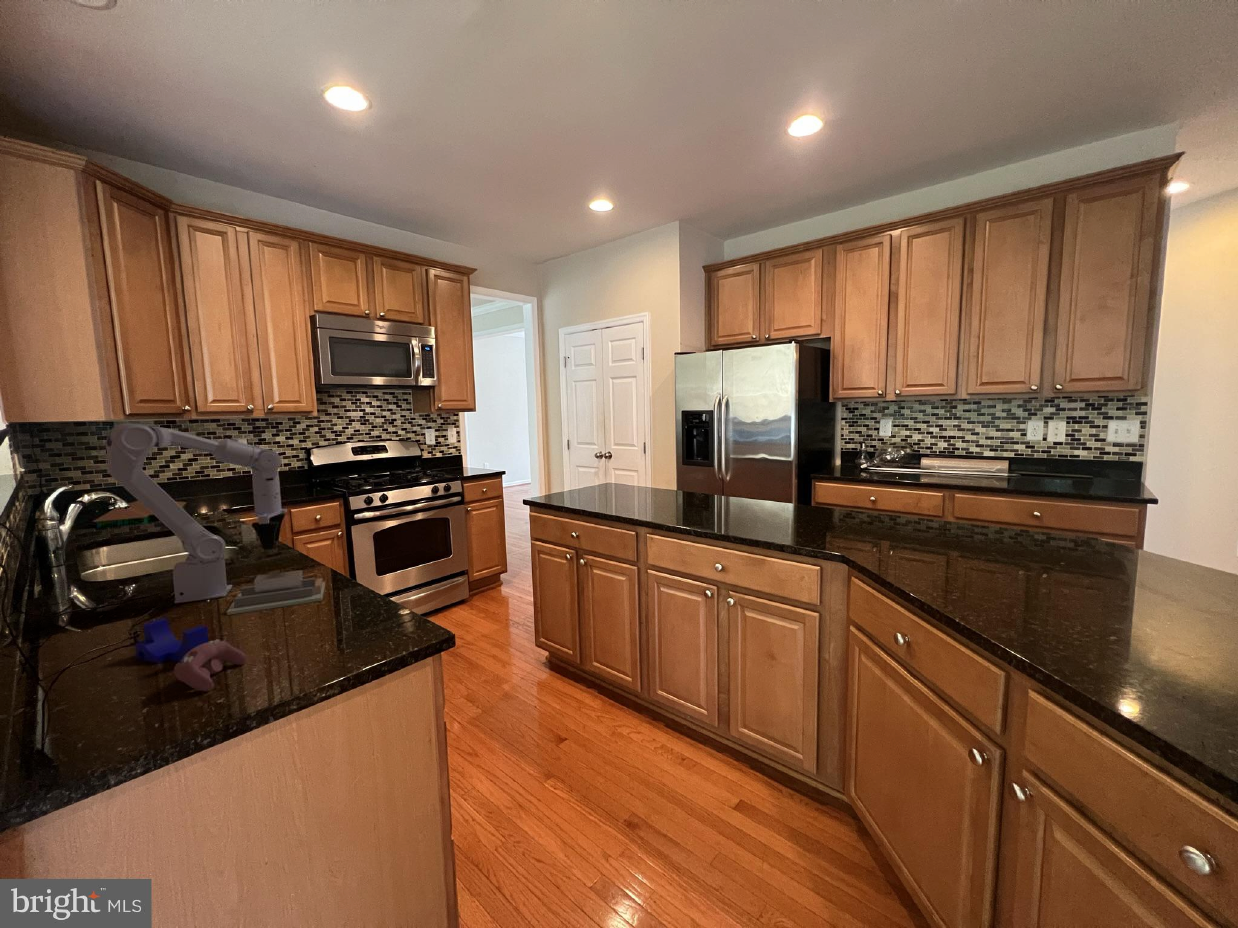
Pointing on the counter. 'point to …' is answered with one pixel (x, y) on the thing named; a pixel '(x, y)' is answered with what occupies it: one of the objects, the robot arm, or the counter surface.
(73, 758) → the counter surface
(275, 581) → the block
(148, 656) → the cable clip
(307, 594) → the drive tray
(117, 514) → the house
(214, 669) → the video game controller
